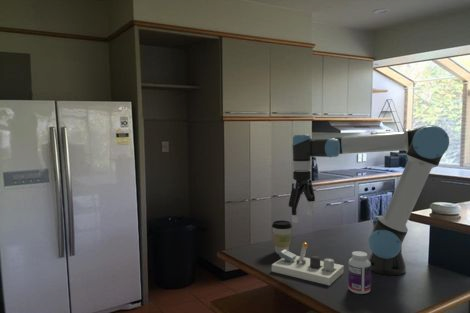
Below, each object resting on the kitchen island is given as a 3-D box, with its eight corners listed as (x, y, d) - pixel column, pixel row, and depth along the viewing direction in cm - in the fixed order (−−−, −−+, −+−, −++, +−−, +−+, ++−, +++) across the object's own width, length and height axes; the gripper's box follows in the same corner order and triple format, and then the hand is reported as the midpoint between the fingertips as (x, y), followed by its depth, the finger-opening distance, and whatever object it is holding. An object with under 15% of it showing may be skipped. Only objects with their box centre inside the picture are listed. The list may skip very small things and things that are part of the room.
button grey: (335, 269, 158) (335, 259, 158) (331, 272, 155) (331, 262, 154) (325, 267, 160) (325, 257, 160) (321, 270, 157) (322, 260, 157)
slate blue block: (295, 259, 169) (296, 254, 168) (290, 262, 165) (291, 257, 165) (283, 253, 172) (284, 248, 171) (278, 256, 168) (280, 251, 168)
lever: (305, 263, 165) (309, 243, 168) (302, 262, 163) (307, 242, 166) (299, 262, 166) (303, 242, 169) (297, 260, 164) (301, 241, 167)
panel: (343, 272, 162) (343, 261, 162) (329, 285, 149) (329, 274, 149) (289, 260, 177) (288, 250, 177) (271, 271, 164) (271, 261, 164)
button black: (321, 266, 161) (321, 257, 161) (317, 269, 158) (317, 259, 158) (312, 264, 164) (312, 255, 164) (308, 267, 160) (308, 258, 160)
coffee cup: (291, 256, 183) (291, 225, 181) (271, 255, 185) (270, 224, 183) (292, 249, 192) (292, 220, 191) (273, 248, 194) (272, 219, 193)
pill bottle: (365, 285, 149) (366, 249, 147) (374, 294, 141) (374, 256, 139) (345, 286, 148) (345, 250, 147) (352, 295, 140) (352, 257, 139)
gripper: (306, 167, 176) (307, 212, 178) (279, 173, 156) (280, 224, 158) (322, 167, 172) (322, 214, 173) (295, 174, 152) (296, 226, 153)
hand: (302, 219), depth 166 cm, fingers open, 13 cm apart
